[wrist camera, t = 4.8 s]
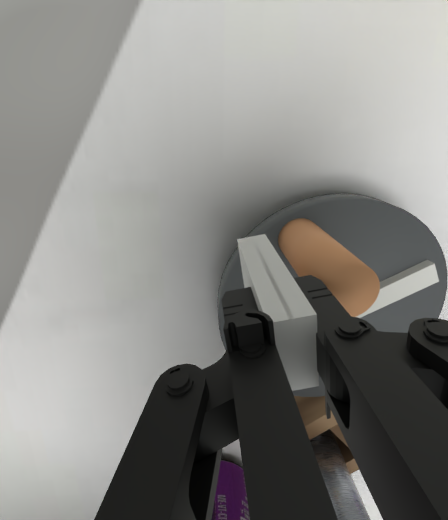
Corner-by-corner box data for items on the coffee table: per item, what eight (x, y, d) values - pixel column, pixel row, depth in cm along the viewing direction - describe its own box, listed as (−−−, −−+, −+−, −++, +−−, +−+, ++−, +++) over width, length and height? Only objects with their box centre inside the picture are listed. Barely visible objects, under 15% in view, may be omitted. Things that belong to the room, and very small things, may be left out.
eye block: (291, 452, 30) (304, 497, 26) (244, 412, 27) (251, 457, 23) (359, 414, 28) (383, 456, 24) (317, 368, 25) (337, 408, 22)
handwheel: (271, 405, 24) (300, 519, 17) (175, 265, 19) (158, 349, 11) (447, 329, 22) (562, 422, 15) (400, 145, 16) (550, 155, 9)
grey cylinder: (297, 432, 28) (366, 645, 17) (277, 413, 27) (336, 630, 15) (328, 414, 28) (424, 624, 16) (309, 394, 26) (396, 606, 15)
